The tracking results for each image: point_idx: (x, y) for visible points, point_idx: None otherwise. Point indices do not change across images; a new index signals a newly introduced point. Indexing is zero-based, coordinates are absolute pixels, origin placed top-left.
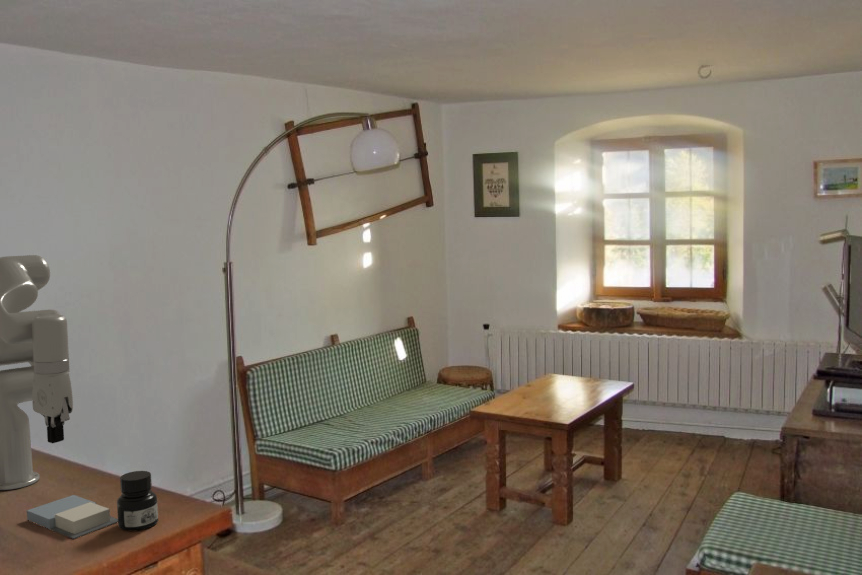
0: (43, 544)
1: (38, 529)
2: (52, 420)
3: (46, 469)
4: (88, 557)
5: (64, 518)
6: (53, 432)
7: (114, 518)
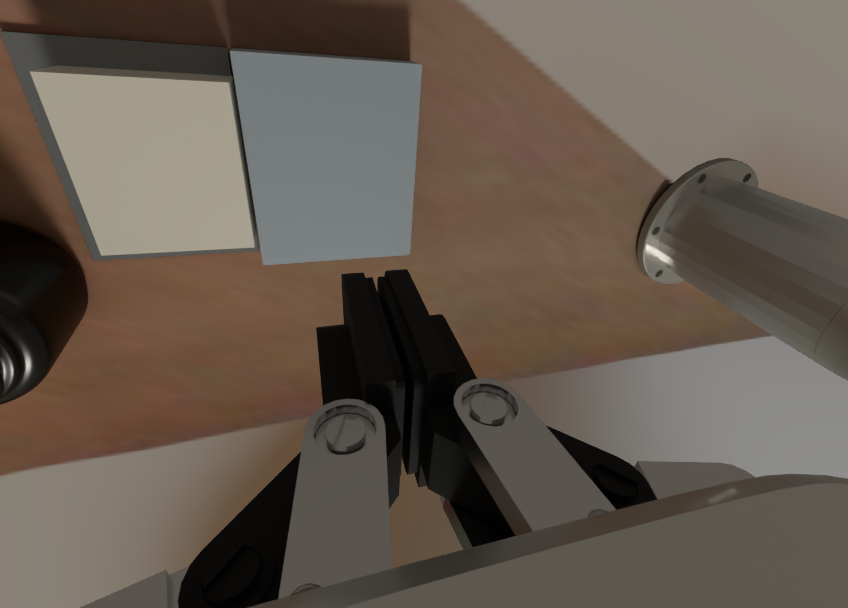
0: None
1: (278, 21)
2: (342, 503)
3: (669, 310)
4: None
5: (132, 76)
6: (357, 360)
7: (132, 254)
